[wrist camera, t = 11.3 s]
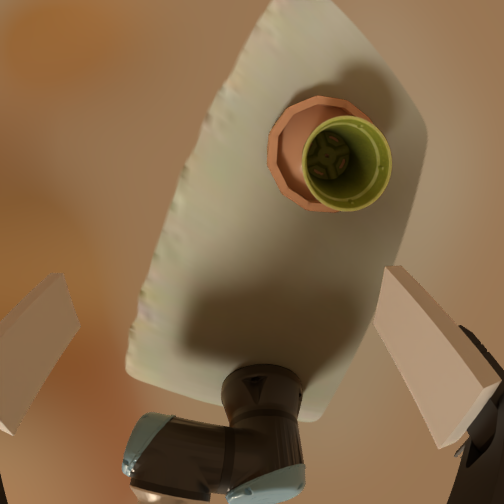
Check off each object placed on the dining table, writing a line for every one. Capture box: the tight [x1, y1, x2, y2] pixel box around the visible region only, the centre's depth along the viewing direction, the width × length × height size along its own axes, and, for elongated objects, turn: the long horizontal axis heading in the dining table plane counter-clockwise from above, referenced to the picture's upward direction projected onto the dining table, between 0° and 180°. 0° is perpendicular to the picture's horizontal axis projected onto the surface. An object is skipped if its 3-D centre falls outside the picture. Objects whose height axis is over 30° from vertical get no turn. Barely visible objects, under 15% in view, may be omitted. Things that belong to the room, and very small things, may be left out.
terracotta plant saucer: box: [267, 95, 373, 213], centre depth 33 cm, size 14×14×2 cm
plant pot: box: [302, 116, 392, 211], centre depth 30 cm, size 9×9×9 cm
